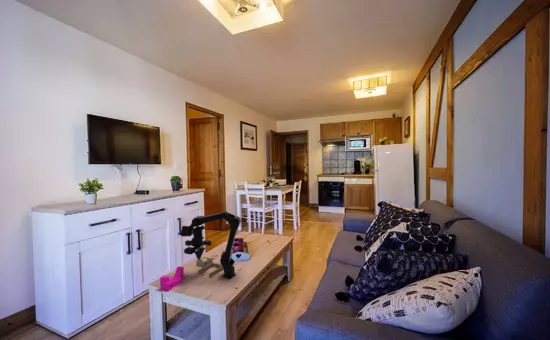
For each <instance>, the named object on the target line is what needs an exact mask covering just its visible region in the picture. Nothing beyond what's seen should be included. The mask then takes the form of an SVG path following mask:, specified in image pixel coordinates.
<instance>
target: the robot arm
mask: <svg viewBox="0 0 550 340" xmlns="http://www.w3.org/2000/svg"><path fill="white" fill-rule="evenodd" d="M218 220H225V221H226V222H227V223H228V224H229V227H230V228H229V229H230V230H229V235H228V239H227V243H226V248H225V251H223V252H222V253H221V254H220V259H219V261H220V263H219V264H221V265H222V266H223V268H224V270H223V276H222V278H223V279H228V280H231V279H232V278H234V277H235V276H237V274H236V272H235V271H236V270H235V266H234V265H235V263H236V261H235V260H234V259H233V258H232V256H233V253H232V252H233V251H232V250H233V246H234V244H235V243H234V242H235V239H236V235H237V231H238V229H239V228H240V225H241V222H242V219H241V217H240V216H238V215H237V216H236V215H235V214H232V213H230V212H228V211H222V212H218V213H214V214H210V215H209V214H208V215H197V216H196V217H193V219H191V224H189V225H182V226H181V229H180V236H181V238H182V237H183V238H185V237H192V238H191V240H189V239H187V240H185V241H184V245H185V246H186V248H184V249H183V253H184V254H185V255H193V254H195V257H196V259H197V260H200V259H201V258H202V256H203V253H204V251H205V250H206V247H205V246H208V247H210V246H212V241H211V240H208V239H205V237H204V236H203V235H204V233H203V230H205V229H206V226H204V225H205V224H206V223H210V222H214V221H218Z"/></svg>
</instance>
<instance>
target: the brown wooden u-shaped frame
mask: <svg viewBox="0 0 550 340" xmlns="http://www.w3.org/2000/svg"><path fill="white" fill-rule="evenodd" d="M213 267H214V268H216V269H214V270H213V271H211V272H209V274H208V278H210V279H211V278H212V277H214V276H216V275H217V274H219V273H220V272H222V271H224V268H223V266H222V265H221V263H216V262H213V263H211V264H209V265H207V266H205V267H201V268H200V269H198V271H197V272H198V273H197V274H198V275H201V274H202V273H205V272H206V271H208V270H210V269H211V268H213Z"/></svg>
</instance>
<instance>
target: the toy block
mask: <svg viewBox="0 0 550 340" xmlns="http://www.w3.org/2000/svg"><path fill="white" fill-rule="evenodd" d="M184 271H185V269H184V266H179V265H178V266H177V267H176V268H175V273H174V274H173V276H172V277H171V278H170V276H169V275H162V276H161V277H159V282H160V283H159V287H160V289H159V290H161V291H165V292H170V291H171V290H173V289H174V288H176V287H177V286H179V285H180V284H181V282H182V281H183V279H185V273H184ZM178 284H179V285H178ZM175 286H176V287H175ZM173 287H174V288H173ZM172 288H173V289H172ZM169 290H170V291H169Z"/></svg>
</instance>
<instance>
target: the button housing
mask: <svg viewBox="0 0 550 340" xmlns="http://www.w3.org/2000/svg"><path fill="white" fill-rule="evenodd" d="M203 258H207V261H205V262H203V261H202V259H203ZM195 262H196V266H198V267H201V268H204V267H205V266H207V265H209V264H211V263H214V262H213V258H211V257H207V256H203V257H201V258H200V260H198V259H197V260H196V261H195Z"/></svg>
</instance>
